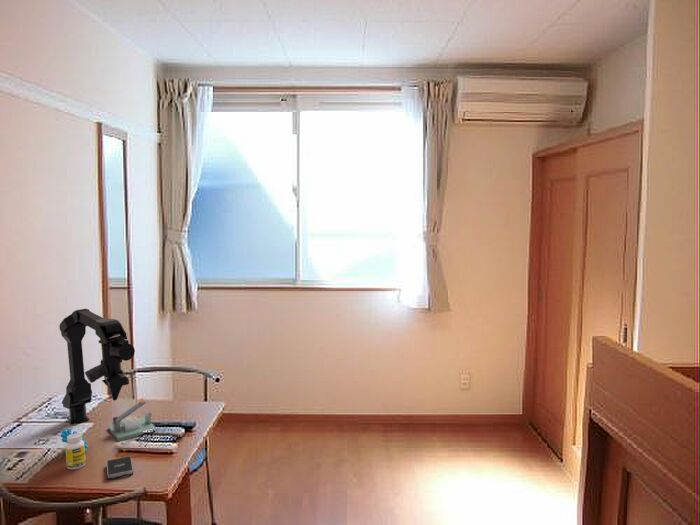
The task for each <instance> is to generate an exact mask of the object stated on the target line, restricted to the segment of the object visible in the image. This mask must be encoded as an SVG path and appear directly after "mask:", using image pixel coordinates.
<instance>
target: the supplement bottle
mask: <svg viewBox="0 0 700 525" xmlns="http://www.w3.org/2000/svg"><path fill="white" fill-rule="evenodd" d="M81 434H82V433H80V432H79V433H78V432H77V433H75V434H72V433H71V435H69V436H67V442H68V443H66V444H65V446H64V448H65V449H64V450H65V451H66V453H65V460H66V468H67V469H68V470H77V469H81V468H83V467H84V466H85V465H86V464H87V460H86V458H87V457H86V452H85V444H84V441H83V440H84V439H83V438H82V437H83V436H82V437H81ZM81 439H82V440H81Z"/></svg>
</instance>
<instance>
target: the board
mask: <svg viewBox="0 0 700 525" xmlns="http://www.w3.org/2000/svg"><path fill="white" fill-rule="evenodd" d="M137 418H138V417H137ZM138 419H139V420H140V428H138V429H134V430H130V431H125V430H124V429H123V428H122V427H121V424H120V429H121V431H119V432H114V431H113V427H112V424H110V425H108V430H109V431H110V433H111V434H112V436H114V437H115V439H116V440H117V441H118V442H120V441H124V440H128V439H132V438H136V437H139V435H140V436H142V435H141V434H142V433H143V431H145V430H146V429H153V428H156V429H157V427H156V426H155V425H154V424H153V423H152V422H151V424H147V423H146V422H145V416H142V417H139V418H138Z"/></svg>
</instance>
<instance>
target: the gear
mask: <svg viewBox="0 0 700 525" xmlns="http://www.w3.org/2000/svg"><path fill="white" fill-rule="evenodd" d="M75 433H78V432H77V431H76V430H74V431H72V429H67V430H66V429H63V430H62V431H61V434H60V436H59V437H61V438H62V439H61V442H62V443H66V444H67V443H68V442H67V436H69V435H71V434H75ZM80 434H81V437H82V439H81V440H83V441H84V444H85V453H86V452H87V451H88V448H89V445H88V444H87V442H88V441H87V439H84V437H83V436H84V434H83V433H80ZM62 453H63V454H66V451H65V449H63V451H62Z"/></svg>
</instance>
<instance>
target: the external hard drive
mask: <svg viewBox="0 0 700 525" xmlns="http://www.w3.org/2000/svg"><path fill="white" fill-rule="evenodd" d="M132 461H133V460H132V456H130V455H129V456H127V455H126V456H123V457H117V458H113V459H108V460H107V461H106V468H107V472H106V473H107V480H108V481H113V480H116V479H121V478H126V477H131V476H133V475H134V470H133V469H134V468H133V463H132Z"/></svg>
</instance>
